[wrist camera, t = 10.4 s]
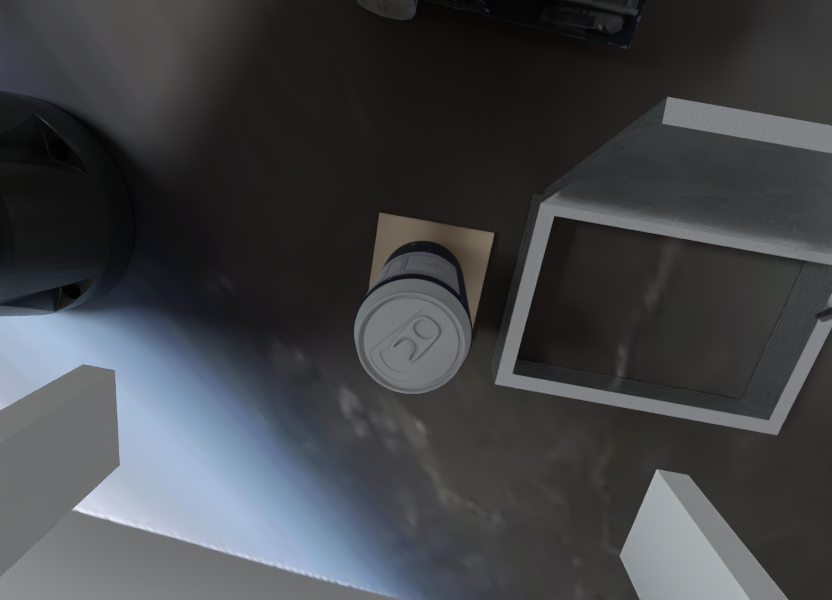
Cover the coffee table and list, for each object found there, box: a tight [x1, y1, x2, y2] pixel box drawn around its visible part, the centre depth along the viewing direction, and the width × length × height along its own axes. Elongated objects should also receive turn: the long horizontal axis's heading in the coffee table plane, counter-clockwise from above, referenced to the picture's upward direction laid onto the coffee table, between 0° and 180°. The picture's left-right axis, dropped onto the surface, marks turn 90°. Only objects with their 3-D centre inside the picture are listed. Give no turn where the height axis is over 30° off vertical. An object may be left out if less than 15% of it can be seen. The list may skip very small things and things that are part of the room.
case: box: [491, 97, 832, 435], centre depth 22 cm, size 20×17×16 cm
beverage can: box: [353, 241, 473, 394], centre depth 24 cm, size 6×6×12 cm
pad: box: [369, 212, 494, 327], centre depth 30 cm, size 8×8×1 cm
